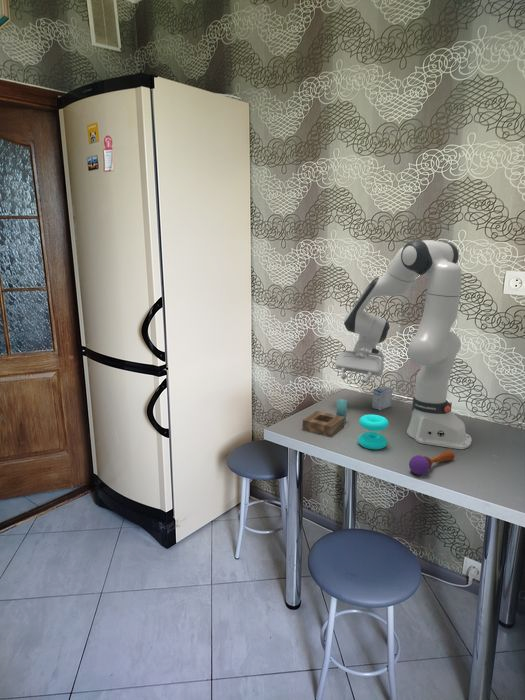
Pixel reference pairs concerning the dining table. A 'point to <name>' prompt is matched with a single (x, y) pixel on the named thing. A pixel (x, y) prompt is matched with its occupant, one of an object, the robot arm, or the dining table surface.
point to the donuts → (372, 438)
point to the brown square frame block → (323, 423)
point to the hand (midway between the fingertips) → (353, 380)
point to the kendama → (428, 462)
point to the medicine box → (382, 397)
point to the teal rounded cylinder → (341, 408)
